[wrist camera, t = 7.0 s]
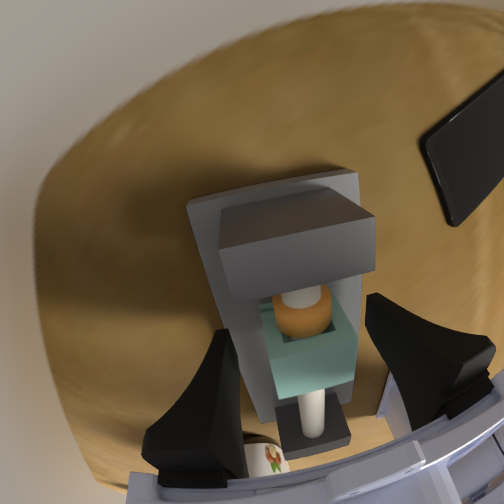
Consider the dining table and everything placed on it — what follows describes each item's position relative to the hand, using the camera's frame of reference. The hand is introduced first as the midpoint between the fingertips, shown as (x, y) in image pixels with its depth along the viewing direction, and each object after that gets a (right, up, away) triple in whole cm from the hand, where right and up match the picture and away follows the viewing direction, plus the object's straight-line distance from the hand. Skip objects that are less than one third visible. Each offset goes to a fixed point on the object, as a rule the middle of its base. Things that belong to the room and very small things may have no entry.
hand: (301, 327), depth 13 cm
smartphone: (+15, +12, -1) cm, 19 cm away
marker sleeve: (0, 0, +1) cm, 1 cm away
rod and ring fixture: (0, -1, +4) cm, 4 cm away
